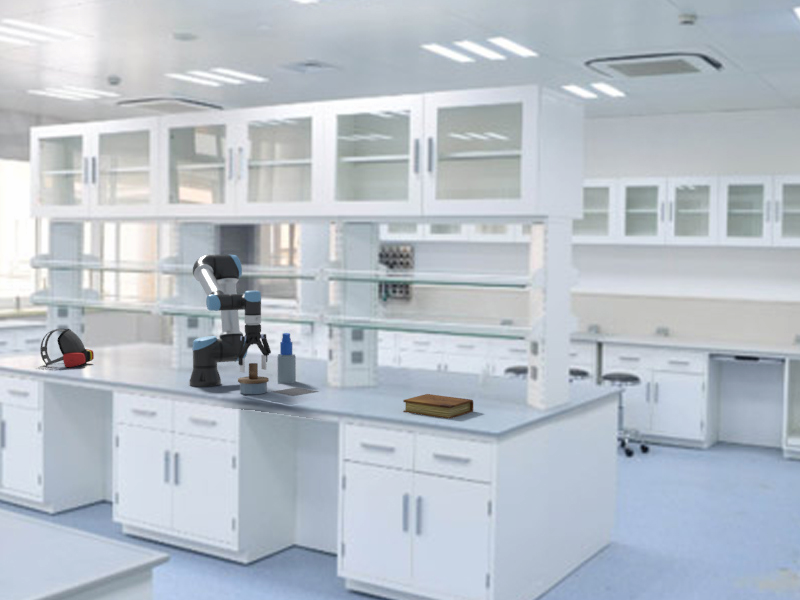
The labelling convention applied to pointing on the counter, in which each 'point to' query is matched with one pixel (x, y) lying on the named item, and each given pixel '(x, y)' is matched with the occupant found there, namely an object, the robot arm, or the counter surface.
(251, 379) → the lid
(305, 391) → the mat
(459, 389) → the counter surface
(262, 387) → the bowl
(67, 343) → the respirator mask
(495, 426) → the counter surface
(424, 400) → the diary
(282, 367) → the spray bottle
